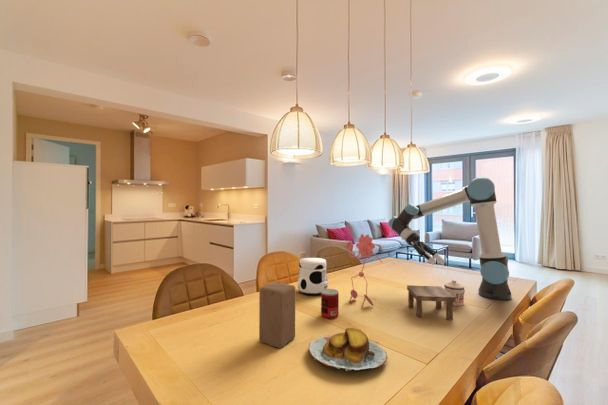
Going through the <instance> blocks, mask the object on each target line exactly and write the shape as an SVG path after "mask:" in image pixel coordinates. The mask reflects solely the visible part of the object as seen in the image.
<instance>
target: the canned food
mask: <svg viewBox="0 0 608 405" xmlns="http://www.w3.org/2000/svg"><path fill="white" fill-rule="evenodd" d="M320 295H321V296H320V298H321V300H320V301H321V302H320V311H321V312H320V314H321V317H322V318H323V319H327V320H332V319H333V320H334V319H336V318H338V317H339V306H340V305H339V300H340V298H339V296H340V294H339V291H338V290H337V289H335V288H327V289H324V290H322V291H321V294H320Z"/></svg>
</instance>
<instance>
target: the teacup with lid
mask: <svg viewBox="0 0 608 405" xmlns="http://www.w3.org/2000/svg"><path fill="white" fill-rule="evenodd" d="M444 289H445V290H446V291H447V292H448V293H450V294H451V295H452V296H454V297H455V302H453V307H454V306H455V307H461V306H463V305H464V303H465V298H464V297H465V286H464V285H463V284H460V283H459V282H457V280H456V279H451V281H449V282H445V283H444ZM444 303H446V302H444Z"/></svg>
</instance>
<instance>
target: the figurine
mask: <svg viewBox="0 0 608 405" xmlns="http://www.w3.org/2000/svg"><path fill="white" fill-rule="evenodd" d="M355 247H356V249H358V254H357V255H356V256H355V255H351V250H353V248H354V244H353V242H351V241H348V242H346V248H347V250H348V251H349V254H348V255H349V258H356V259H357V260H359V261H361V262H362V264H363V265H362V269H361V271H359V272H358V274H356V275H355V276H352V277H350V279H351V285H352V290H350V298H349V300H348V302H349V303H350V302H351V300H352V299H354V300H356V299H357V297H359V295H358V294H359V293H358V292H357V290H355V288H354V283H353V278H355V277H361V278H364V280H365V282H366V283H368V281H367V279H366V276H365V273H364V272H363V271H364V267H365V264H366V260H367V259H370V258H371V255H374V257H375V258H377V260H379V261H380V263H383V261H382V260H381V259H380V258H379V257H378V256H377V254H375V252H374V250H373V249H375V248H376V245H375V243H373V238H372V237H370V234H366V235H364V234H363V233H361V234H360V237H359V238H358V242H357V243H356V244H355ZM360 257H361V258H360ZM363 258H364V259H363ZM365 287H366V290H365V294H363V296H361V295H360V297H362V298H363V302H362V304H361V308H363V307H364V304H365V301H367V302H368V303H369V304H370V305H371V306H372V307H374V303H373V301H376V298H371V297H369V296H368V285H366V286H365ZM371 299H372V300H373V301H372V300H371Z"/></svg>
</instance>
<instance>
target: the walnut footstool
mask: <svg viewBox="0 0 608 405" xmlns="http://www.w3.org/2000/svg"><path fill="white" fill-rule="evenodd" d="M406 290H407V291H408V292H407V293H408V297H407V298H408V303H407V304H408V305H407V306H408V308H414V304H415V317H416V319H423V302H435V308H436V309H438V310H439V309H441V310H442V305H443V304H442V302H444V303H445V302H446V304H445V305H446V306H445V308H446V309H445V312H446V313H445V316H446V318H445V319H447V320H449V321H451V320H452V321H453V320H454V306H453V302H455V297H454V296H452V295H451V294H450V293H448V292H447V291H446V290H445V288H443V287H442V286H436V285H435V286H434V285H433V286H432V285H406ZM414 299H415V300H414ZM414 301H415V302H414Z"/></svg>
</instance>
